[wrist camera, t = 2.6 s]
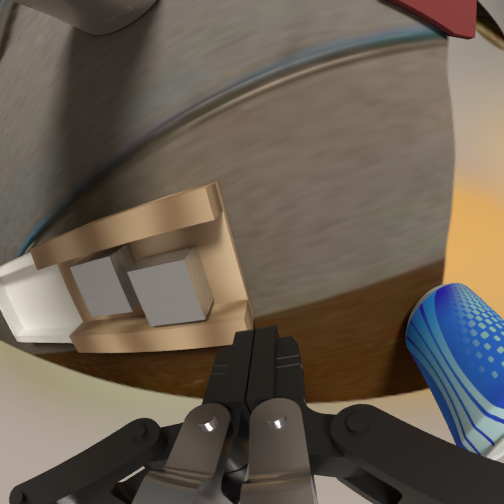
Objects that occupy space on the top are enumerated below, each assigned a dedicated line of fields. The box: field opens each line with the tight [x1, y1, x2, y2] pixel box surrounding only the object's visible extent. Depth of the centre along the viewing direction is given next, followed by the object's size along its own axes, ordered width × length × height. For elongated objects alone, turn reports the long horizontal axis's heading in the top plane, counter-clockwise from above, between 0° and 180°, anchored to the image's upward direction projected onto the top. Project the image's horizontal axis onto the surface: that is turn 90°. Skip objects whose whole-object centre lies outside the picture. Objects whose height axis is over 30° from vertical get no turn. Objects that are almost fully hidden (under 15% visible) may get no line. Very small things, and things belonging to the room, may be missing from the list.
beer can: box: [405, 283, 504, 460], centre depth 14 cm, size 8×8×16 cm
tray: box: [0, 252, 83, 343], centre depth 23 cm, size 15×10×3 cm, turn 104°
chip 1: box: [70, 243, 140, 317], centre depth 20 cm, size 4×4×3 cm
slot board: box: [30, 181, 255, 353], centre depth 20 cm, size 18×11×4 cm, turn 104°
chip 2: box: [127, 245, 214, 326], centre depth 19 cm, size 4×4×3 cm
